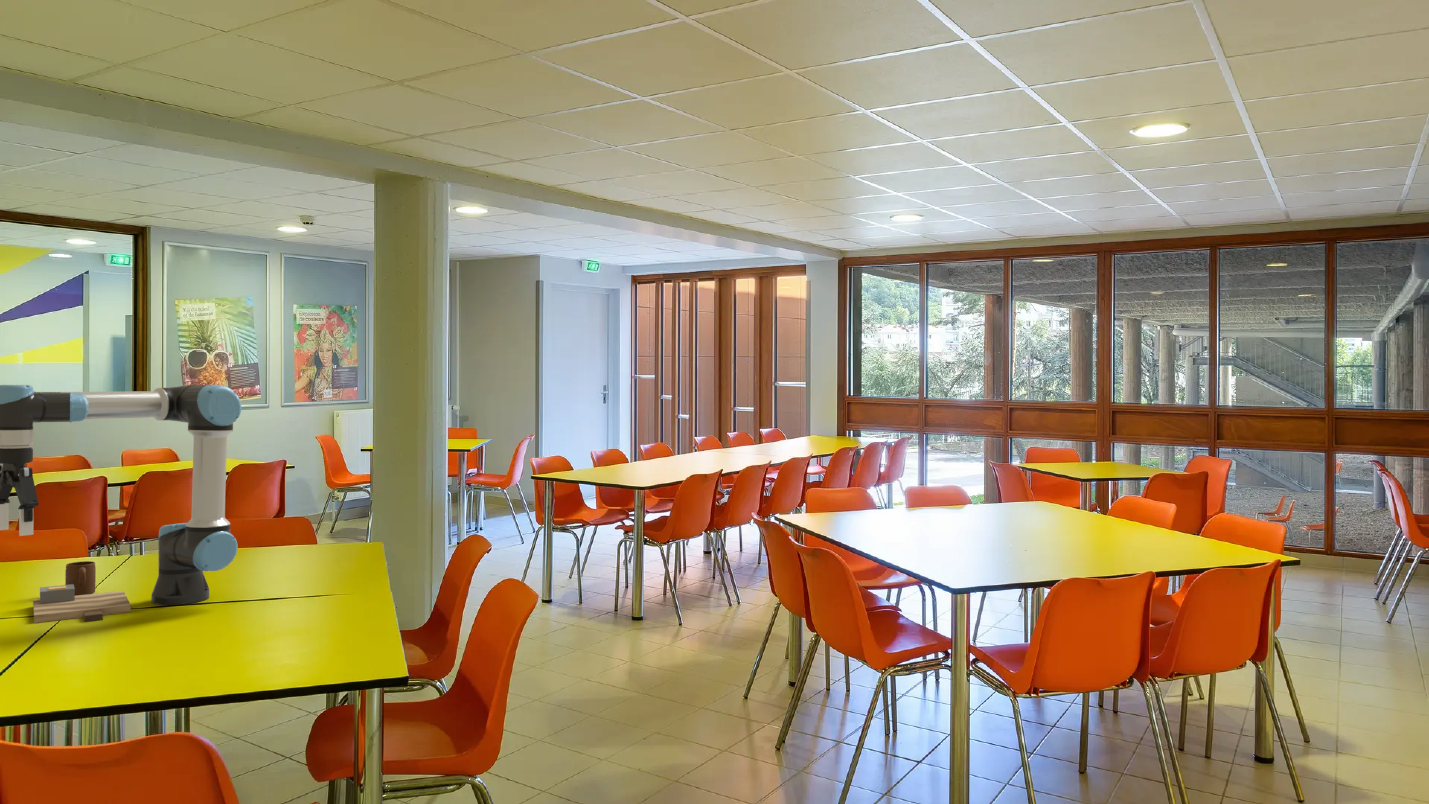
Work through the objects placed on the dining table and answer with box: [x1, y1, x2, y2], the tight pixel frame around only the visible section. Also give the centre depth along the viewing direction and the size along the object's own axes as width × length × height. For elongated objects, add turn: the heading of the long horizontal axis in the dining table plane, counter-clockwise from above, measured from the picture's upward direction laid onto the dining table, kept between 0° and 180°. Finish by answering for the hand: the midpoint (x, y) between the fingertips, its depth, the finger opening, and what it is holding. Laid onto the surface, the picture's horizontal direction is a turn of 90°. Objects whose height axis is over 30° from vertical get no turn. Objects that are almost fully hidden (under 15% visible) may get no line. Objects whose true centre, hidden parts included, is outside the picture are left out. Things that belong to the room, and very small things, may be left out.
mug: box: [64, 560, 97, 596], centre depth 280 cm, size 12×8×9 cm, turn 38°
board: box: [32, 590, 132, 624], centre depth 260 cm, size 28×22×2 cm
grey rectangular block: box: [39, 584, 75, 604], centre depth 265 cm, size 7×8×4 cm
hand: (13, 532), depth 228 cm, fingers open, 13 cm apart
